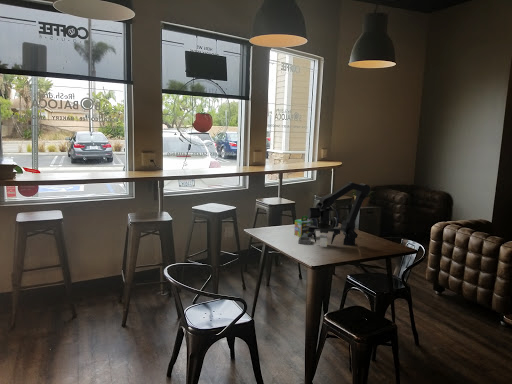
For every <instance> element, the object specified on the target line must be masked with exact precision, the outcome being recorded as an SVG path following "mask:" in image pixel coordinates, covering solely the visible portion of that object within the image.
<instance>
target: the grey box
mask: <svg viewBox="0 0 512 384" xmlns="http://www.w3.org/2000/svg"><path fill="white" fill-rule="evenodd" d="M327 243H328V234H320V235H319V247H321V248H322V247H325V248H327V247H328V244H327Z"/></svg>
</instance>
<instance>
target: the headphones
mask: <svg viewBox="0 0 512 384" xmlns="http://www.w3.org/2000/svg"><path fill="white" fill-rule="evenodd" d="M331 208H332V209H333V210H335V213H336V217H333V216H332V217H330V224H329V225H332V229H334V227H339V225H340V217H339V212H338V210H337V209H336V207H335V205H334V204H333V205H332V206H331ZM310 220H311V221H313V226H315V227H317V228H319V225H320V218H313V219H310Z"/></svg>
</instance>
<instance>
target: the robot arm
mask: <svg viewBox="0 0 512 384" xmlns="http://www.w3.org/2000/svg"><path fill="white" fill-rule="evenodd" d="M352 190H355V199H354V201H353V204H352V206H351V209H350V211H349V213H348V216H347V218H346V219H345V220H344V219H343V220H342V221H341V225H340V227H339V226H338V227H334V228H332V225H330V220H331V217H330V216H331V212H334V210H335V209H334V208H333V207H332V205H333V206H334V204H335V202H336V201H337V200H338V199H340V198H342V197H343V196H344V195H346V194H348V193H349V192H351V191H352ZM371 190H372V189H371V187H370V185H368V184H365V183H359V184H358V183H355V182H352V181H348V182H347V183H346V184H344V185H343V186H342V187H340V188H338V189H337V190H335V191H333V192H332V193H329V194H326V195H323V196H321V197H320V198H319V202H317V203H316V205H315V206H309V207H308V210H307V212H306V216H308V220H311V219H313V218H318V219H319V221H320V225H319V228H317V227H315V226H309V227H308V232H310V233H312V234H313V239H314V243H315V244H317V231H318V232H319V234H328V233H329V232H332V236H331V242H330V245H333V242H334V240H335V238H336V236H339V235H341V232H342V234H343V236H344V237H343V241H342V242H343V245H344V246H348V247H351V246H356V239H357V238H358V235H359V234H358V233H357V232H356V231H355V229H356V220H357V218H358V215H359V213H360V211H361V208H362V205H363V202H364V200H365V199H366V198H367V197H368V196H369V194H370V193H371Z"/></svg>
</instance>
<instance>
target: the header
mask: <svg viewBox="0 0 512 384" xmlns="http://www.w3.org/2000/svg"><path fill="white" fill-rule="evenodd" d="M297 242H298V244H299V245H304V246H305V245H311V243H312V237H298V241H297Z"/></svg>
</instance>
